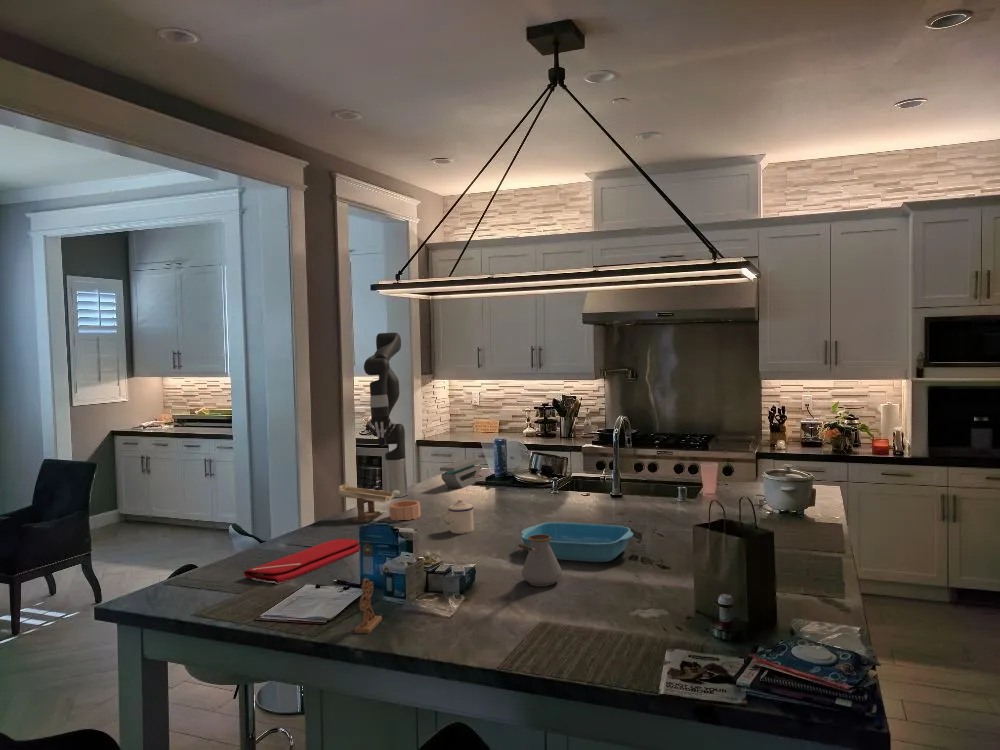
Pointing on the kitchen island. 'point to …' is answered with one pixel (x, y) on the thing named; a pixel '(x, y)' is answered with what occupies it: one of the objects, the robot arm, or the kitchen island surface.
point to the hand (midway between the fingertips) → (382, 446)
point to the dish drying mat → (304, 561)
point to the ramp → (366, 493)
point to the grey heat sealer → (460, 473)
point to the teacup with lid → (460, 517)
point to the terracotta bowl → (405, 510)
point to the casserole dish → (582, 540)
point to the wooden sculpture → (368, 618)
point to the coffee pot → (540, 562)
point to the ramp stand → (368, 514)
